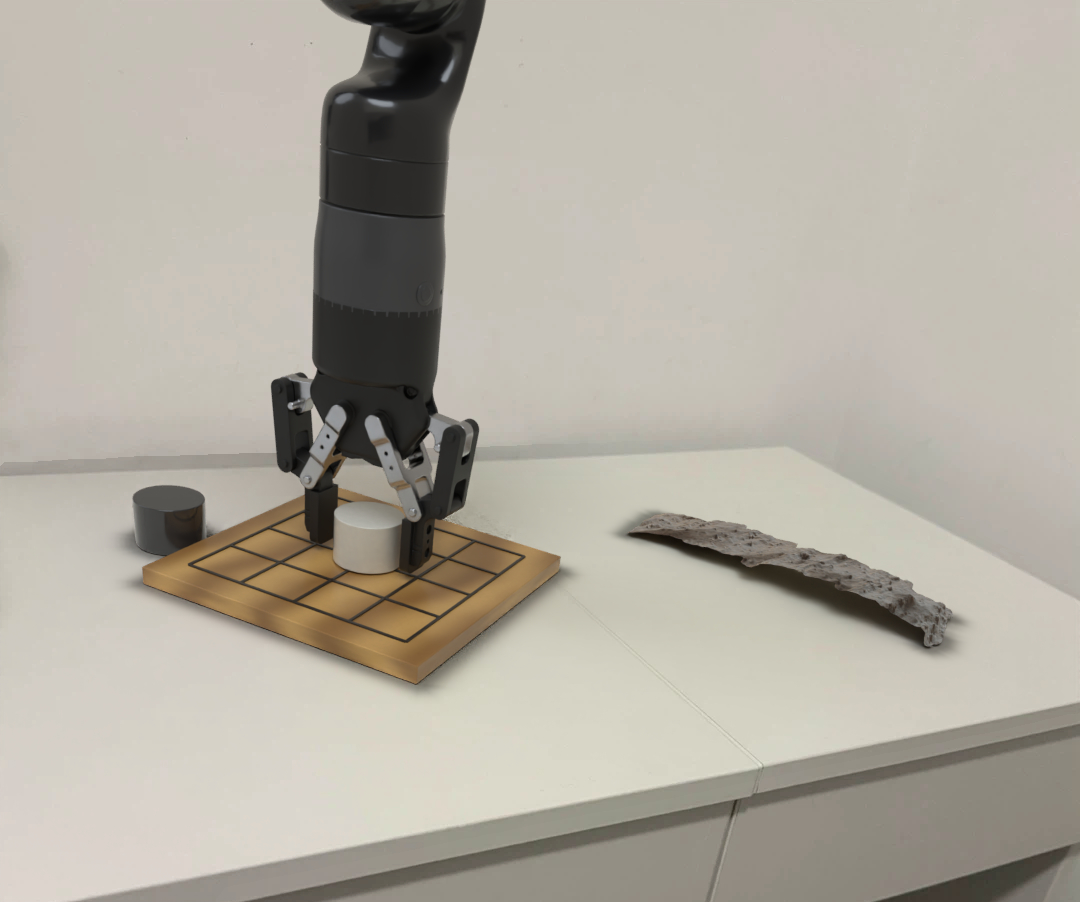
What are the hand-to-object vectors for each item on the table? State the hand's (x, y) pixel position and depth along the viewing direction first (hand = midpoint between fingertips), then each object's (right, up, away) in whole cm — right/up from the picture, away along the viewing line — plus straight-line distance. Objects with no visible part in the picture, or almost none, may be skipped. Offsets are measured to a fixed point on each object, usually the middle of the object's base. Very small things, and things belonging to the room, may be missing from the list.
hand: (366, 553), depth 71 cm
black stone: (-14, +1, +2) cm, 14 cm away
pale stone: (0, 0, 0) cm, 0 cm away
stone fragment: (+30, 0, +11) cm, 32 cm away
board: (0, -1, +1) cm, 2 cm away
